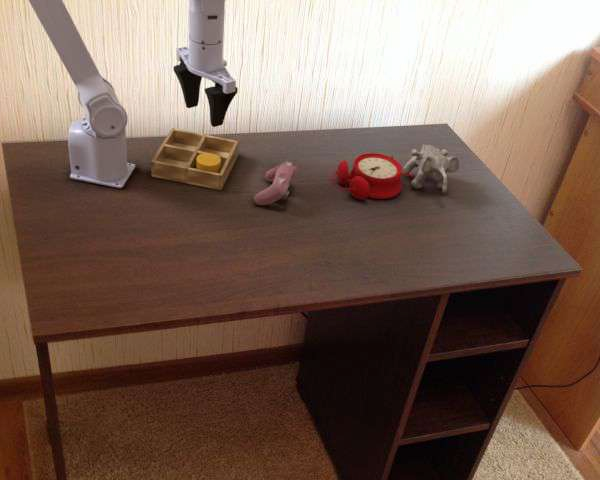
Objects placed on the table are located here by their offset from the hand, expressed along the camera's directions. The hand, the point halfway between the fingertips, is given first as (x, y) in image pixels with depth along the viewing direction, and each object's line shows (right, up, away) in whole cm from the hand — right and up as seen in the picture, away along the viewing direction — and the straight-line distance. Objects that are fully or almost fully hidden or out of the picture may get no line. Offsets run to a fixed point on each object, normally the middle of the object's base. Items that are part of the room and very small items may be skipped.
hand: (204, 115), depth 134 cm
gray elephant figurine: (+42, -10, +11) cm, 45 cm away
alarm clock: (+30, -11, +8) cm, 33 cm away
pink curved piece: (+13, -14, +3) cm, 19 cm away
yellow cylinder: (0, -9, +3) cm, 10 cm away
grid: (-2, -7, +6) cm, 10 cm away
